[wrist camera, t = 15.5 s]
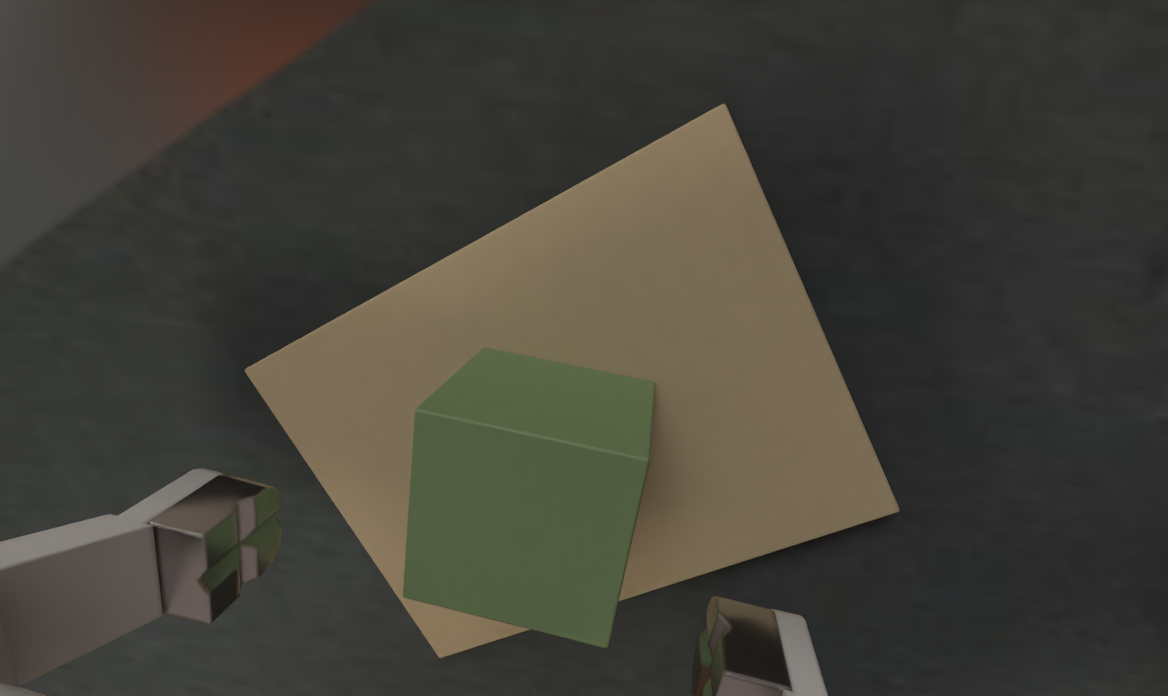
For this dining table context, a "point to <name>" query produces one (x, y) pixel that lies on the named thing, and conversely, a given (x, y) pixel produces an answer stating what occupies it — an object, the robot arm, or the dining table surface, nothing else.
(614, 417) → the green block
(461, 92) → the dining table surface
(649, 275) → the mat
